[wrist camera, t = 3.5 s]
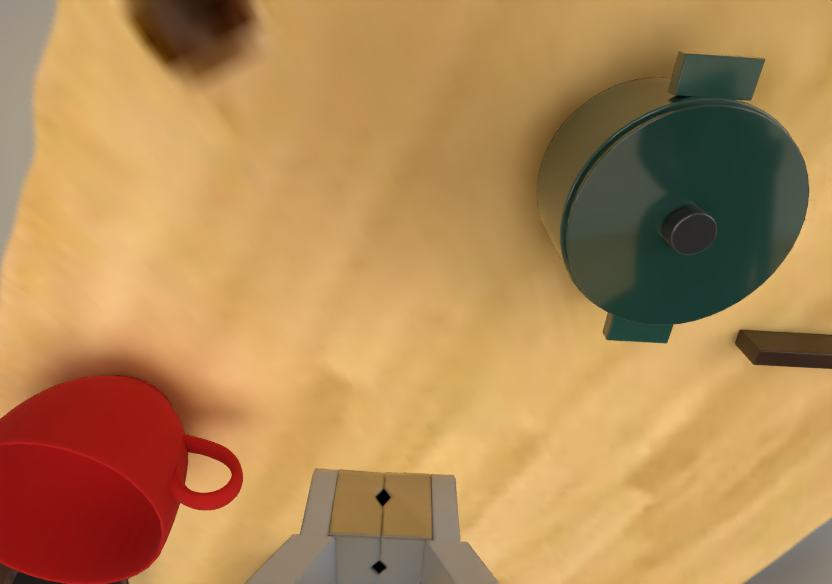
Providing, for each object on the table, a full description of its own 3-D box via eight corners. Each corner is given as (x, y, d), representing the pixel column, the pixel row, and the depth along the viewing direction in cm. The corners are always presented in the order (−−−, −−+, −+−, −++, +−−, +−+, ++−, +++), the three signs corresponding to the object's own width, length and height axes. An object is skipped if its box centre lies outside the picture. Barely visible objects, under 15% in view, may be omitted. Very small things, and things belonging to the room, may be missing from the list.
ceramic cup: (277, 470, 45) (243, 586, 37) (71, 469, 45) (-12, 585, 37) (255, 339, 39) (208, 441, 30) (16, 338, 39) (-100, 441, 30)
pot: (562, 35, 29) (607, 51, 22) (782, 51, 30) (894, 71, 23) (518, 288, 37) (541, 358, 30) (694, 298, 37) (758, 370, 30)
